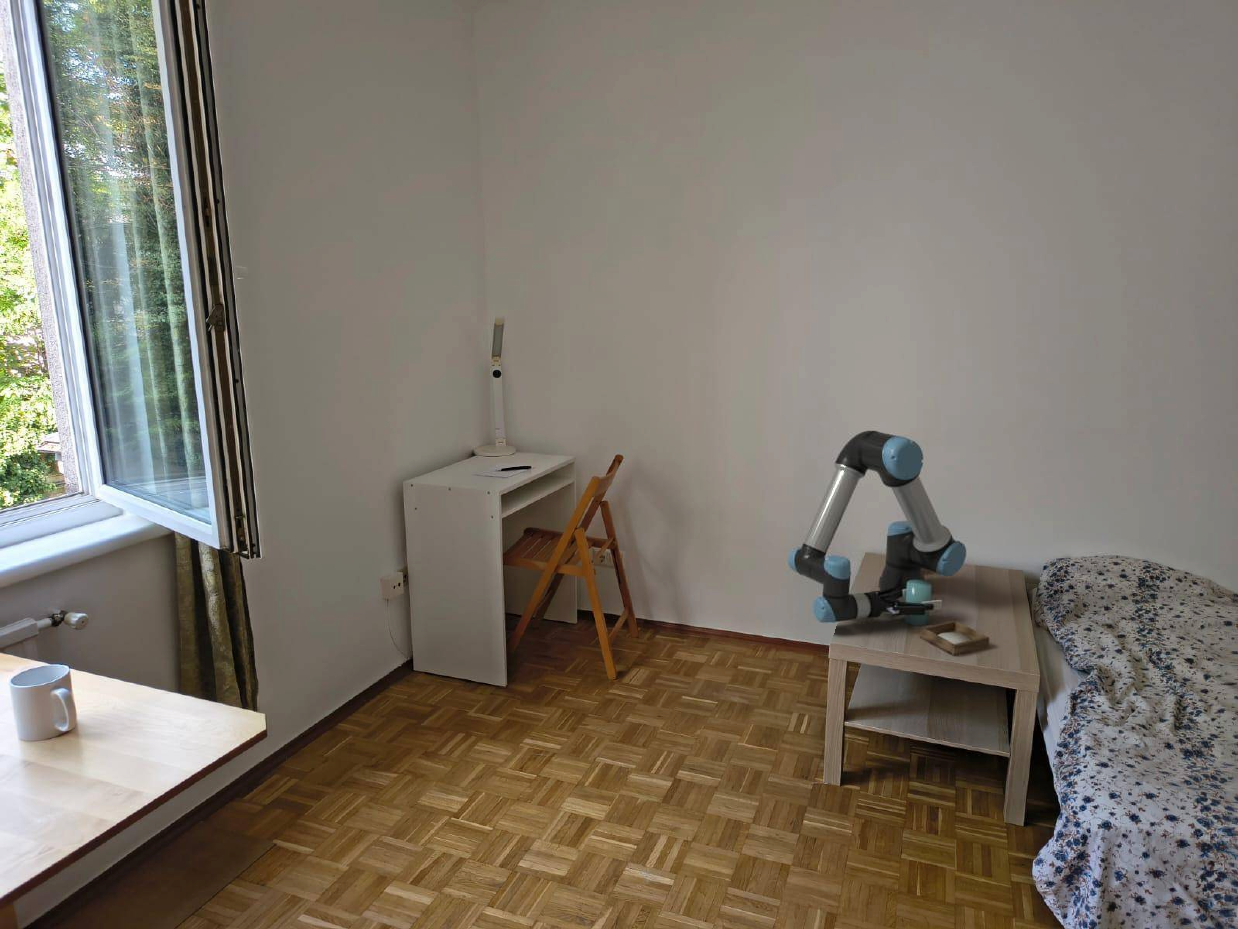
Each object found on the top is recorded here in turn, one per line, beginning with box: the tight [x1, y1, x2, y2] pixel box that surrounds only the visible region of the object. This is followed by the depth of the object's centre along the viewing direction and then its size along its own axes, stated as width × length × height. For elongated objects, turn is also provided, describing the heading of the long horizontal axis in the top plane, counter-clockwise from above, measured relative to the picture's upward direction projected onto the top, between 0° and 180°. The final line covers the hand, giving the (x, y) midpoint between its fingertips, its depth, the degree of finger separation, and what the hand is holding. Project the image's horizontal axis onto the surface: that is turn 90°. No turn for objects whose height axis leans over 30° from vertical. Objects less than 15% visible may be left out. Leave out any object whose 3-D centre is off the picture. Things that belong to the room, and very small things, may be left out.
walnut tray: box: [919, 620, 990, 657], centre depth 244 cm, size 13×13×3 cm
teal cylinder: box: [904, 580, 932, 627], centre depth 257 cm, size 7×7×12 cm
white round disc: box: [938, 633, 970, 644], centre depth 244 cm, size 9×9×1 cm
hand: (931, 598), depth 258 cm, fingers open, 9 cm apart
